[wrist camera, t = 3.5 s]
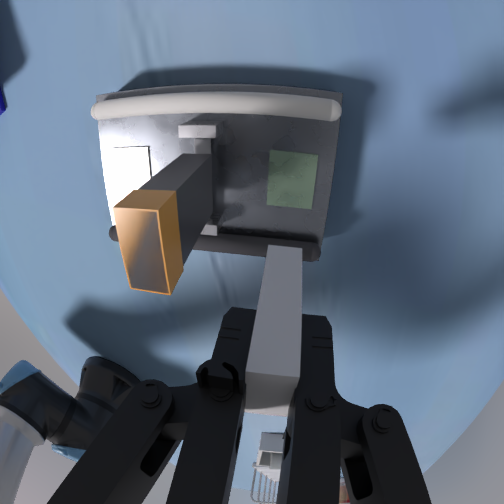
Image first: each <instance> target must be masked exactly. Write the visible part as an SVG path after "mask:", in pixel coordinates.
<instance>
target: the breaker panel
mask: <svg viewBox="0 0 504 504" xmlns="http://www.w3.org/2000/svg"><path fill="white" fill-rule="evenodd" d="M183 92H260V93H277V94H290V95H300V96H310V97H318V98H326V99H332V100H335V101H337V102H338V103H339V104H340V106H341V107H342V96H343V93H339V92H334V91H327V90H320V89H312V88H302V87H292V86H280V85H263V84H188V85H172V86H159V87H149V88H140V89H132V90H125V91H118V92H112V93H107V94H102V95H97V96H96V99H97V102H99V101H105V100H111V99H118V98H126V97H134V96H143V95H154V94H166V93H183ZM339 125H340V117H339V118H338V119H337V120H335V121H324V120H316V119H307V118H298V117H287V116H275V115H260V114H238V113H179V114H157V115H142V116H130V117H120V118H111V119H103V120H98V127H99V138H100V147H101V156H102V163H103V171H104V178H105V184H106V190H107V196H108V202H109V208H110V213H111V218H112V223H113V225H115V220H114V215H113V209H112V207H113V206H114V205H116V204H117V203H118V202H119V201H120V200H121V199H123V198H124V197H125V196H126V195H127V194H129V193H130V192H131V191H132V190H133V189H138V188H140V187H141V186H142V185H143V184H144V183H146V182H147V181H148V180H149V179H151V178H152V177H153V176H154V175H155V174H157V173H158V172H159V171H161V170H162V169H163V168H164V167H166V166H167V165H168V164H170V163H171V162H172V161H173V160H175V159H176V158H177V157H179V156H180V155H181V154H183V153H189V154H194V139H195V138H211V154H212V191H213V213H212V214H211V216H210V218H209V220H208V222H207V223H206V225H205V227H204V229H203V230H202V232H201V234H203V235H214V236H217V235H218V233H223V234H234V235H244V236H254V237H265V238H275V239H285V240H295V241H304V242H313V243H316V244H317V245H318V246H319V247H320V249H321V246H322V240H323V235H324V229H325V223H326V218H327V212H328V205H329V199H330V193H331V186H332V179H333V172H334V165H335V158H336V150H337V142H338V134H339ZM316 261H319V258H318V259H317V260H316Z"/></svg>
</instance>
